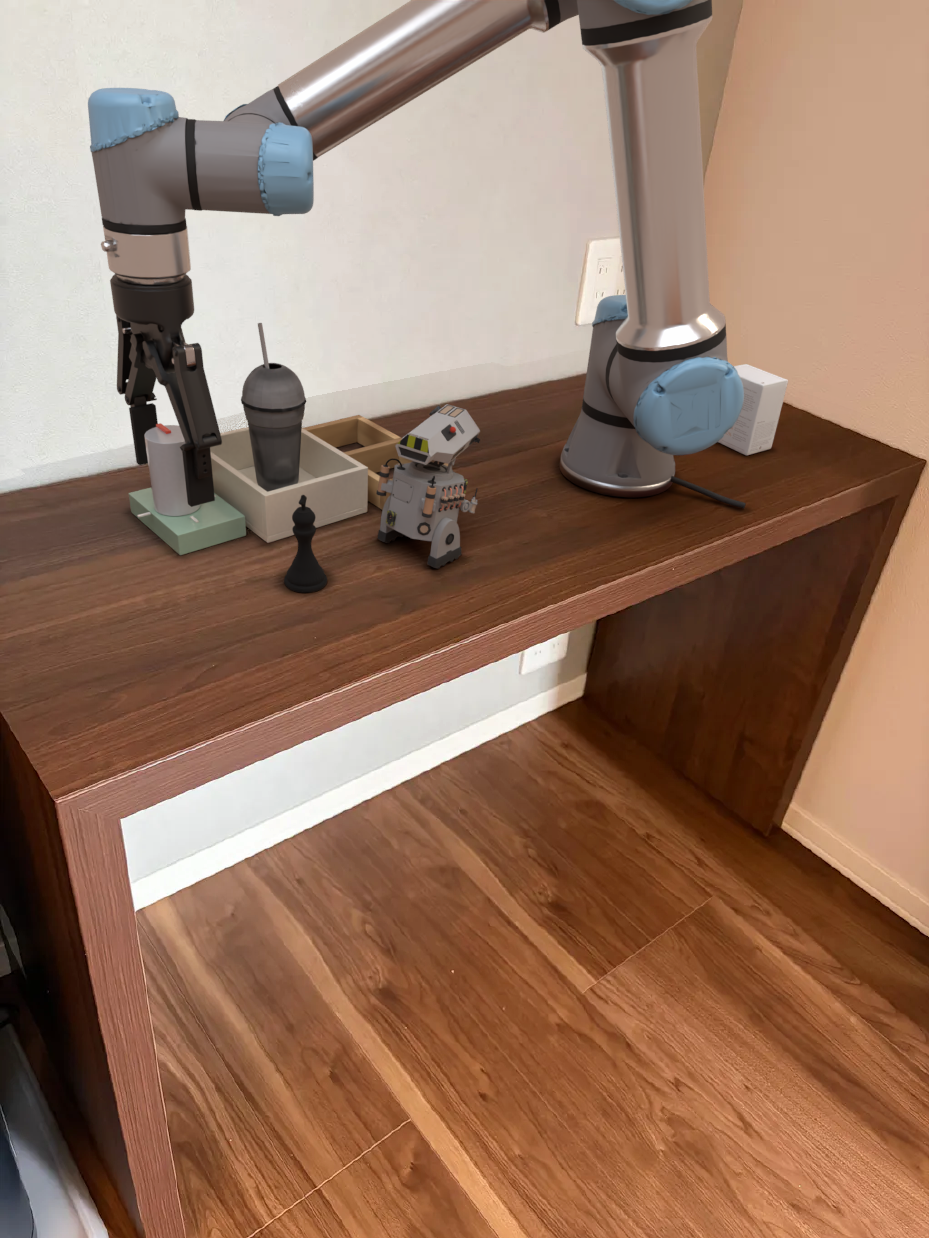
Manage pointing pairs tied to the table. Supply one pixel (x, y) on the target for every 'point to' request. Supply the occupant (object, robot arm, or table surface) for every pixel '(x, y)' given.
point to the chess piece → (304, 554)
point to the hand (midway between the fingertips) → (174, 481)
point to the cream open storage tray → (322, 479)
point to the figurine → (429, 484)
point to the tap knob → (167, 470)
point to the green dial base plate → (190, 523)
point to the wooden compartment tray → (372, 455)
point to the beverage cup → (274, 421)
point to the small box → (756, 411)
